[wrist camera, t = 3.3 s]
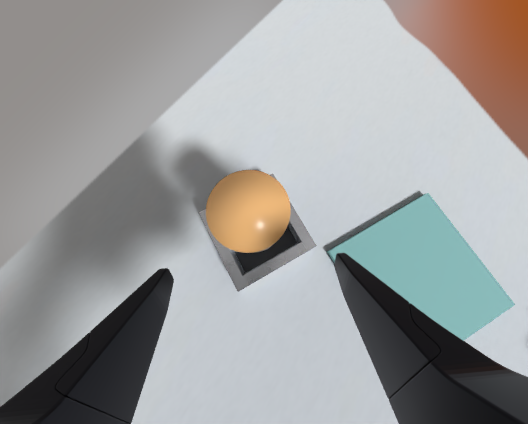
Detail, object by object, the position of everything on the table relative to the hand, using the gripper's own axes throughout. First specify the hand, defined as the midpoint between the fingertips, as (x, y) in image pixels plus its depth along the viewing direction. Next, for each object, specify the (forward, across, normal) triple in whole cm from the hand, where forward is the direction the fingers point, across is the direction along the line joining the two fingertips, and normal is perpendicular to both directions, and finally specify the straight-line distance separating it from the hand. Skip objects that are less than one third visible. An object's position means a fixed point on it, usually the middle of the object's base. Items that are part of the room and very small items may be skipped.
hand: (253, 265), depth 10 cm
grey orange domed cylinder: (+9, 0, +5) cm, 10 cm away
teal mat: (+5, -16, +9) cm, 19 cm away
